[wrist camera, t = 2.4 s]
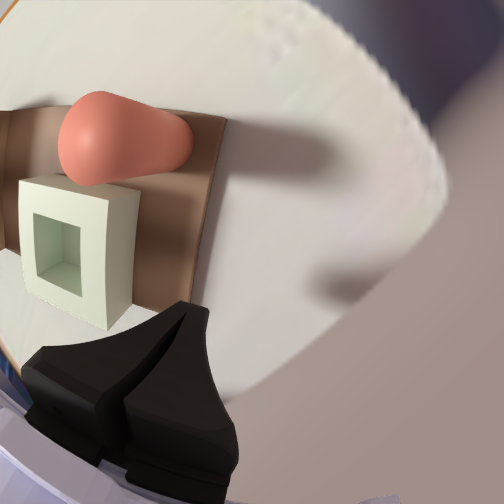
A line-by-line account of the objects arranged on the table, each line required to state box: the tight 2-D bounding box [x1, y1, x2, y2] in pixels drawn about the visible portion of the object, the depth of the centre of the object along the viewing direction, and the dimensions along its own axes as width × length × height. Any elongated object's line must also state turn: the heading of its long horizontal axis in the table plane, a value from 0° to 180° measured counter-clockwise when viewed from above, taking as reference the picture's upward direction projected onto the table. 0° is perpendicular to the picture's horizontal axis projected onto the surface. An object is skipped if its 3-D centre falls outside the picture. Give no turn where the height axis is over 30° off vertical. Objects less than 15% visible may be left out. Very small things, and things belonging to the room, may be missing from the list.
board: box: [0, 106, 227, 313], centre depth 14 cm, size 13×22×6 cm, turn 76°
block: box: [18, 174, 141, 331], centre depth 15 cm, size 8×8×4 cm
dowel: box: [58, 91, 194, 186], centre depth 11 cm, size 3×3×7 cm
